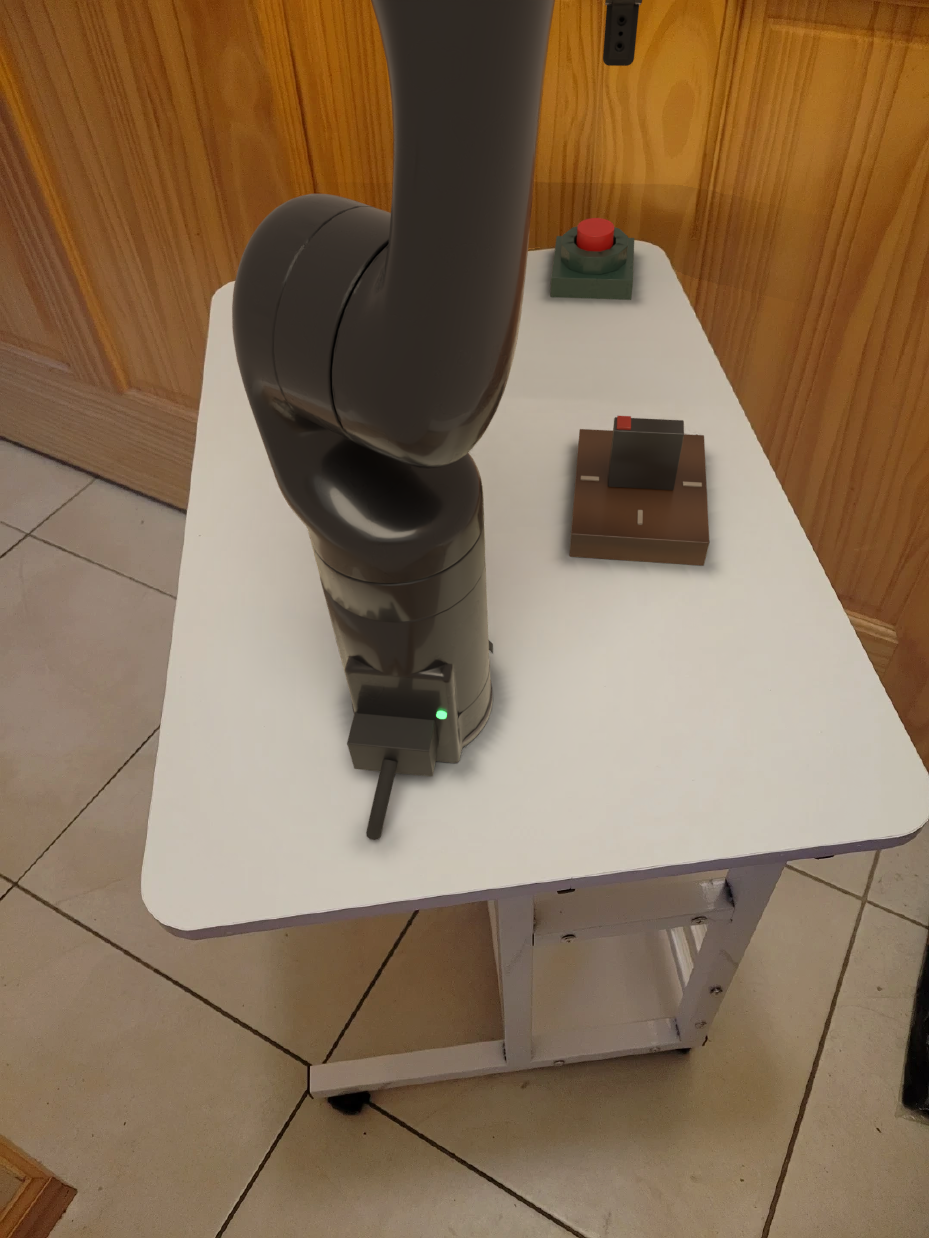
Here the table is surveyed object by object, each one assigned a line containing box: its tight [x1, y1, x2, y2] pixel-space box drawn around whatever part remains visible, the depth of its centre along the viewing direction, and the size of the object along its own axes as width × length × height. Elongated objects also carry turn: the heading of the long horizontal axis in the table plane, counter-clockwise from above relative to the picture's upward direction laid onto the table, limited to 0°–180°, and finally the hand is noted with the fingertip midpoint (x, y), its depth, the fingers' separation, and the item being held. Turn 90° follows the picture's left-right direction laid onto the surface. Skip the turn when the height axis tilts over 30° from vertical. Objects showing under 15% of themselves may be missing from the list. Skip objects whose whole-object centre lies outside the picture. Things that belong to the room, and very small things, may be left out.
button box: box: [550, 225, 635, 301], centre depth 90 cm, size 8×8×4 cm
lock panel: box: [568, 428, 710, 566], centre depth 70 cm, size 12×10×3 cm
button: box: [577, 217, 615, 251], centre depth 88 cm, size 4×4×2 cm
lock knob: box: [608, 415, 685, 490], centre depth 67 cm, size 5×2×6 cm, turn 83°
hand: (618, 61), depth 65 cm, fingers closed
